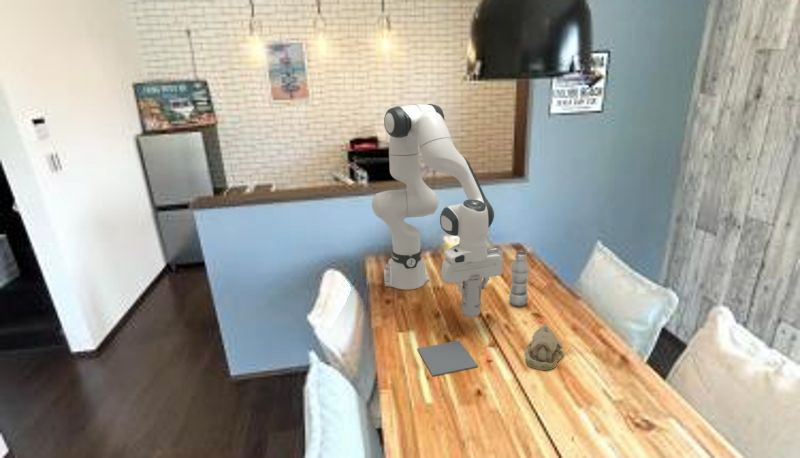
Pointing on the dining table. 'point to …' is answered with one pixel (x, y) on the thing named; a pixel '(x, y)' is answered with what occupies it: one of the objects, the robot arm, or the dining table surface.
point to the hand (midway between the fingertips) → (471, 290)
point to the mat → (446, 358)
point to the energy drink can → (472, 296)
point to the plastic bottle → (519, 280)
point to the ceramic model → (543, 350)
